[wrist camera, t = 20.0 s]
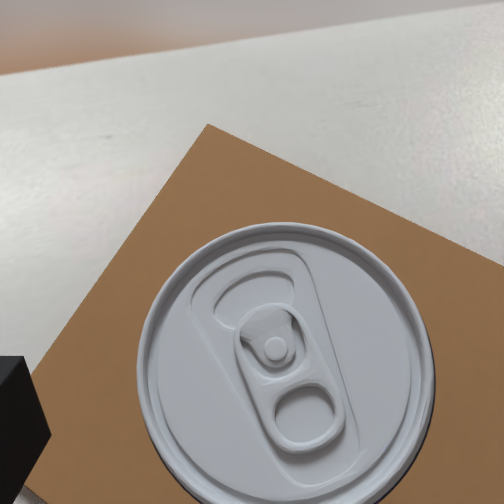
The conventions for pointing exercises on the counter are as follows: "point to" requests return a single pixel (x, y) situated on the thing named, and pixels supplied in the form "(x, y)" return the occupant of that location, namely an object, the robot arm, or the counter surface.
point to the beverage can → (285, 370)
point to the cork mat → (220, 223)
